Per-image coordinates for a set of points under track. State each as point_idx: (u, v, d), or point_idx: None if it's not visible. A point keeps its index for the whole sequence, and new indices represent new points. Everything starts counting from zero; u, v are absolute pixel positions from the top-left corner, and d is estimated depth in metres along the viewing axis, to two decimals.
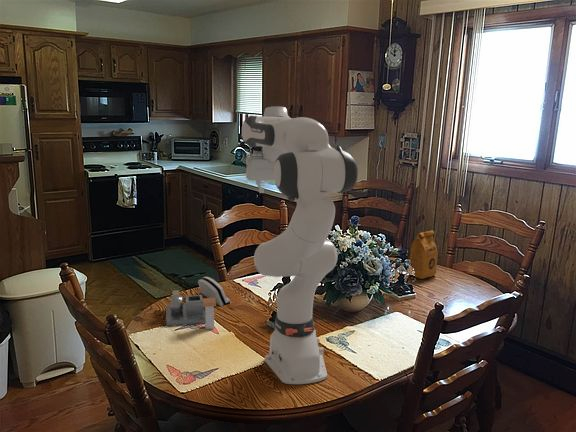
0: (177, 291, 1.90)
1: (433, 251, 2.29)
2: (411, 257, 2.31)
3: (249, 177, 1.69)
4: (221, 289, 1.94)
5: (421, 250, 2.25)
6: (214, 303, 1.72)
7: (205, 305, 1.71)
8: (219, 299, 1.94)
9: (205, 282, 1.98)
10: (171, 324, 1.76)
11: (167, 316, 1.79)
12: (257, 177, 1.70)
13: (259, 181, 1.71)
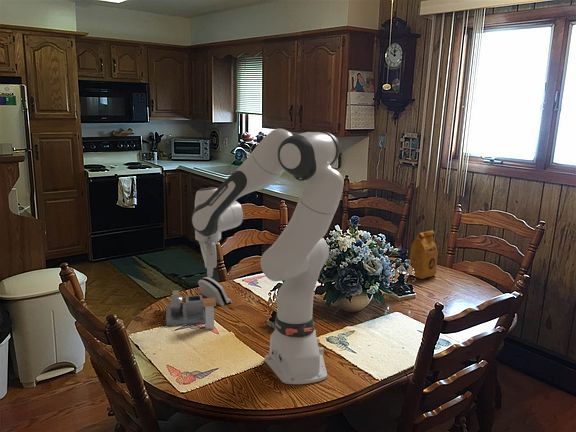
0: (177, 291, 1.90)
1: (433, 251, 2.29)
2: (411, 257, 2.31)
3: (216, 264, 1.61)
4: (222, 289, 1.94)
5: (421, 250, 2.25)
6: (214, 303, 1.72)
7: (205, 305, 1.71)
8: (220, 299, 1.94)
9: (206, 282, 1.97)
10: (171, 324, 1.76)
11: (167, 316, 1.79)
12: None
13: None
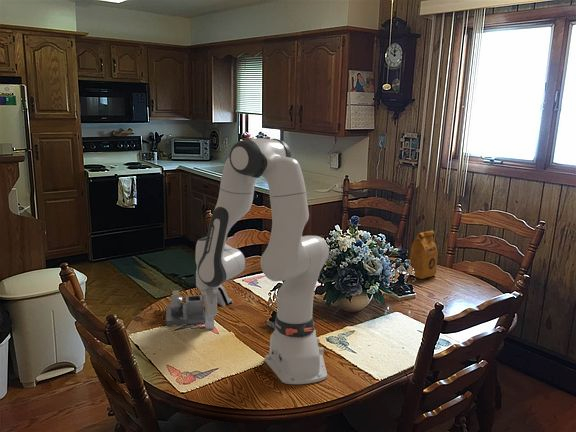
0: (177, 291, 1.90)
1: (433, 251, 2.29)
2: (411, 257, 2.31)
3: None
4: (223, 289, 1.94)
5: (421, 250, 2.25)
6: None
7: None
8: (221, 299, 1.93)
9: None
10: (171, 324, 1.76)
11: (167, 316, 1.79)
12: None
13: None
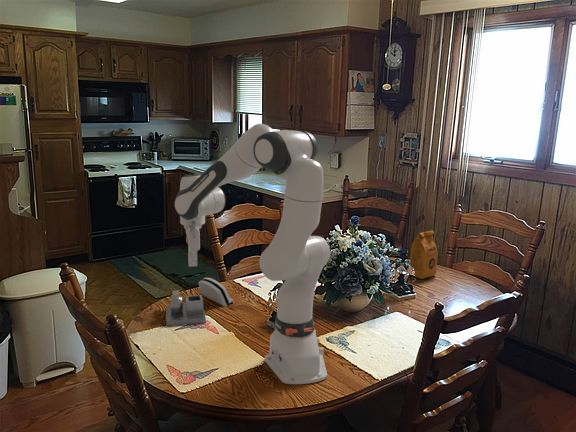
0: (177, 291, 1.90)
1: (433, 251, 2.29)
2: (411, 257, 2.31)
3: (199, 247, 1.70)
4: (224, 289, 1.94)
5: (421, 250, 2.25)
6: None
7: None
8: (223, 299, 1.93)
9: (207, 283, 1.97)
10: (171, 324, 1.76)
11: (167, 316, 1.79)
12: None
13: None
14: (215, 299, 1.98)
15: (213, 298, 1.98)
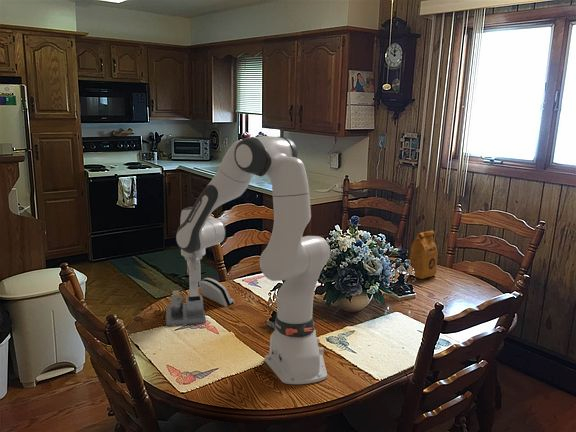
0: (177, 291, 1.90)
1: (433, 251, 2.29)
2: (411, 257, 2.31)
3: (200, 278, 1.73)
4: (225, 290, 1.93)
5: (421, 250, 2.25)
6: None
7: None
8: (223, 300, 1.93)
9: (208, 283, 1.96)
10: (171, 324, 1.76)
11: (167, 316, 1.79)
12: None
13: None
14: (215, 300, 1.98)
15: (213, 298, 1.98)
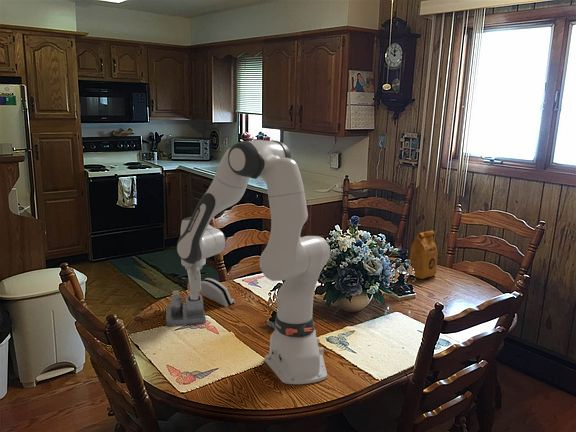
0: (177, 291, 1.90)
1: (433, 251, 2.29)
2: (411, 257, 2.31)
3: (200, 288, 1.73)
4: (226, 290, 1.93)
5: (421, 250, 2.25)
6: None
7: None
8: (224, 300, 1.93)
9: (208, 283, 1.96)
10: (171, 324, 1.76)
11: (167, 316, 1.79)
12: None
13: None
14: (216, 300, 1.97)
15: (214, 298, 1.98)
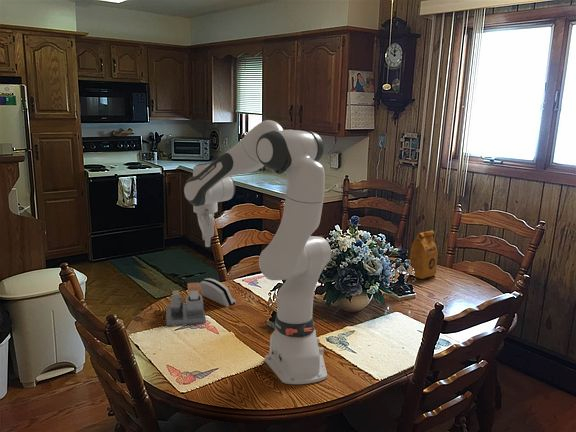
0: (177, 291, 1.90)
1: (433, 251, 2.29)
2: (411, 257, 2.31)
3: (213, 234, 1.74)
4: (227, 290, 1.93)
5: (421, 250, 2.25)
6: (198, 287, 1.80)
7: (190, 289, 1.80)
8: (225, 300, 1.93)
9: (209, 284, 1.96)
10: (171, 324, 1.76)
11: (167, 316, 1.79)
12: None
13: None
14: (217, 300, 1.97)
15: (215, 299, 1.98)
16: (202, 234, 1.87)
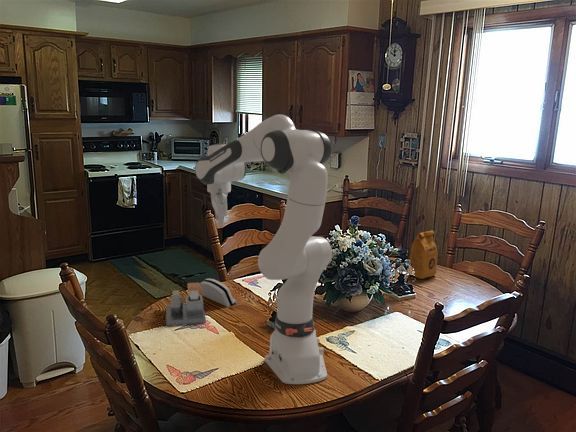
0: (177, 291, 1.90)
1: (433, 251, 2.29)
2: (411, 257, 2.31)
3: None
4: (228, 290, 1.93)
5: (421, 250, 2.25)
6: (198, 287, 1.80)
7: (190, 289, 1.80)
8: (226, 300, 1.93)
9: (210, 284, 1.96)
10: (171, 324, 1.76)
11: (167, 316, 1.79)
12: None
13: None
14: (217, 300, 1.97)
15: (216, 299, 1.97)
16: (215, 214, 1.90)
